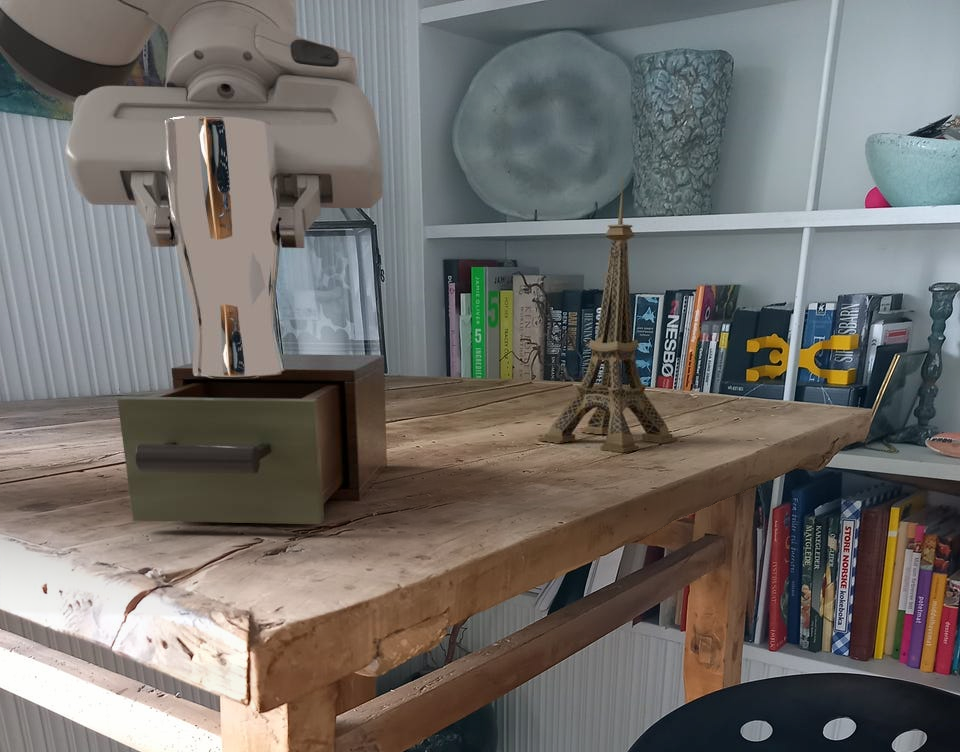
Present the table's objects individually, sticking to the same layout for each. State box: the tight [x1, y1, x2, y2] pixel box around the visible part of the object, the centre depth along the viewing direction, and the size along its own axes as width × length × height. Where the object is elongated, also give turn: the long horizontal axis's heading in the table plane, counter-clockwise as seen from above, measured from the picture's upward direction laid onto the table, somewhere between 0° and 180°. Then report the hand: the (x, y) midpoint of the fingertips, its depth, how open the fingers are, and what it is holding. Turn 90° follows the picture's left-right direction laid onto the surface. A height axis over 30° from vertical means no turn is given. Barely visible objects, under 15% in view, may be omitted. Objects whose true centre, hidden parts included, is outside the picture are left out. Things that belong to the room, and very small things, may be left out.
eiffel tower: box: [538, 177, 679, 453], centre depth 94 cm, size 11×11×25 cm
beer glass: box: [163, 116, 285, 379], centre depth 60 cm, size 7×7×15 cm
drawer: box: [116, 381, 347, 525], centre depth 63 cm, size 18×12×8 cm
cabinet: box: [170, 353, 388, 501], centre depth 77 cm, size 15×14×10 cm
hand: (227, 239), depth 59 cm, fingers closed on beer glass, 7 cm apart
